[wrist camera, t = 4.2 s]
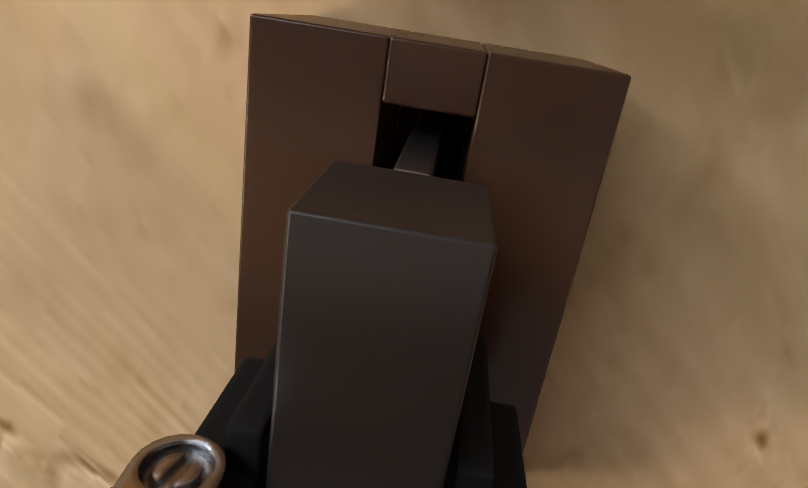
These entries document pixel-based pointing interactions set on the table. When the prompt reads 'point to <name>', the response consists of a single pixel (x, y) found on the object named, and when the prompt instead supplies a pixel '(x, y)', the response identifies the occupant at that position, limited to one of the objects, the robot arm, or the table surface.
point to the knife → (378, 321)
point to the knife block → (479, 163)
